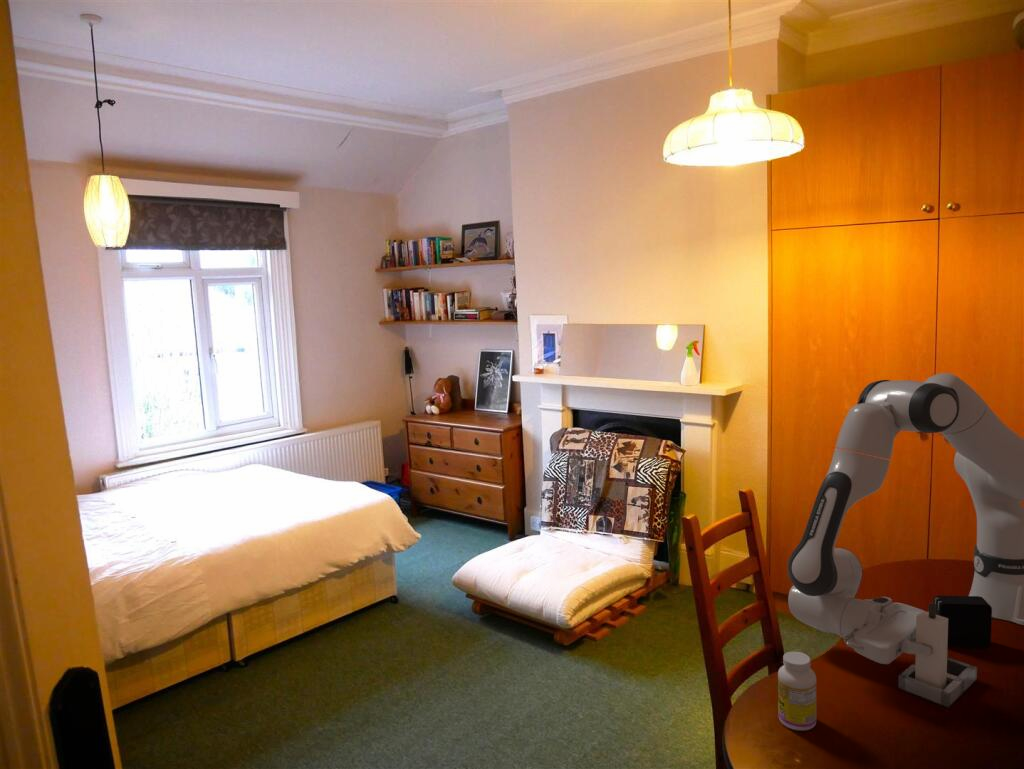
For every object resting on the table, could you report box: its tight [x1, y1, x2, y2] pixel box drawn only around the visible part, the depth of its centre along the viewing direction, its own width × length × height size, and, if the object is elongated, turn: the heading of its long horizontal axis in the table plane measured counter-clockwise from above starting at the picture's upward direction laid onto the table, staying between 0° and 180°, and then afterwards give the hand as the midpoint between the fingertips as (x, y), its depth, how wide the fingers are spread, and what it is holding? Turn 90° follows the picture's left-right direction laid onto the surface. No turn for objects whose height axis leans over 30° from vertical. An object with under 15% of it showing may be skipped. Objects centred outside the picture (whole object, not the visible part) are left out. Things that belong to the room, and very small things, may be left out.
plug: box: [914, 601, 948, 689], centre depth 142 cm, size 4×3×17 cm, turn 38°
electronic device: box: [932, 594, 993, 650], centre depth 159 cm, size 4×10×10 cm, turn 79°
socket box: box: [897, 656, 978, 709], centre depth 145 cm, size 9×14×3 cm, turn 128°
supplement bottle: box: [777, 651, 817, 732], centre depth 136 cm, size 7×7×13 cm
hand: (936, 647), depth 141 cm, fingers closed on plug, 3 cm apart
